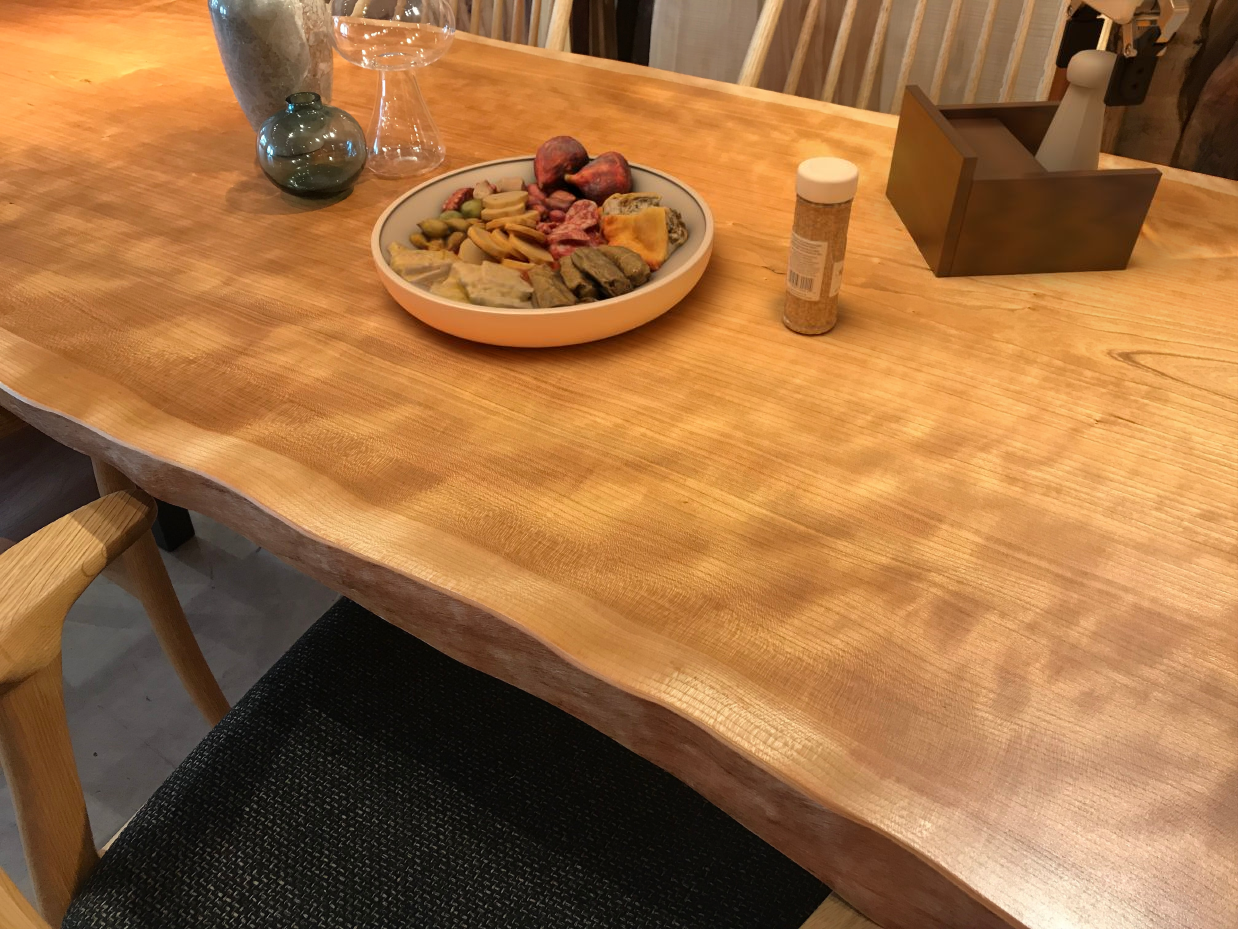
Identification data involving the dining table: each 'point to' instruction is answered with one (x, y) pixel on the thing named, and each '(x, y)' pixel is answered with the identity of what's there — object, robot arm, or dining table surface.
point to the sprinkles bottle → (818, 243)
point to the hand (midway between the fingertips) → (1096, 84)
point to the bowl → (544, 247)
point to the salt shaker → (1079, 115)
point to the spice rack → (1007, 193)
